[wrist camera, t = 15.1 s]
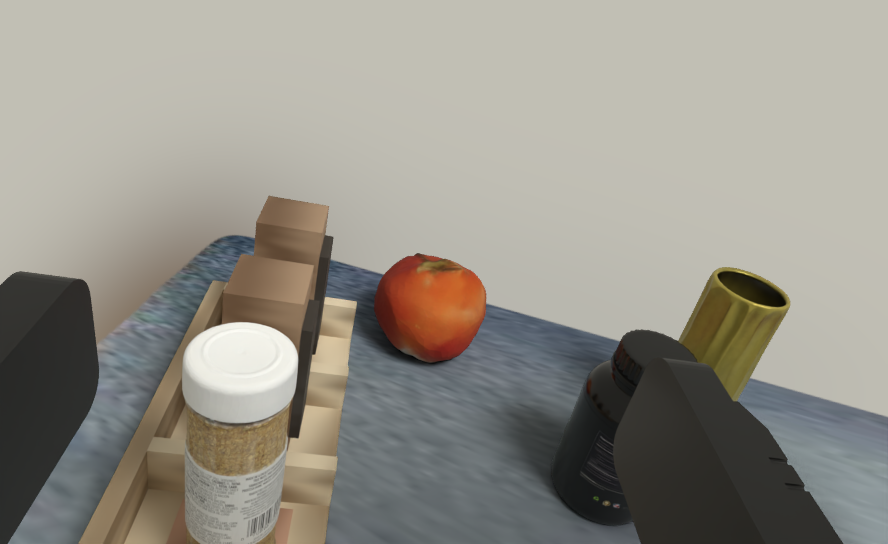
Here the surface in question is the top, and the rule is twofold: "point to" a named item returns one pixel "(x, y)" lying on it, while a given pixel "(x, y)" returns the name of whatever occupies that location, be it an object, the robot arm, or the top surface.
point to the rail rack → (312, 407)
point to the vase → (734, 324)
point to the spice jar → (236, 431)
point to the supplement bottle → (605, 428)
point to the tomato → (430, 307)
